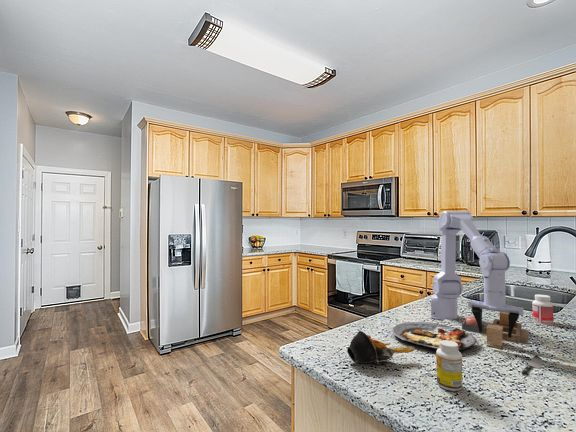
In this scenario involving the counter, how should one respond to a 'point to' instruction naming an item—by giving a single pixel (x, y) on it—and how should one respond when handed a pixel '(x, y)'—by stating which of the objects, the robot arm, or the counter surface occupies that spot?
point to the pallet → (517, 332)
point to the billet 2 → (504, 318)
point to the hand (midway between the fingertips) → (495, 333)
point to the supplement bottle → (449, 366)
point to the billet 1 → (495, 336)
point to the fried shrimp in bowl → (372, 350)
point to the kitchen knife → (533, 364)
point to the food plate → (432, 334)
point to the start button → (471, 321)
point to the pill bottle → (542, 310)
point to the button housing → (471, 327)
